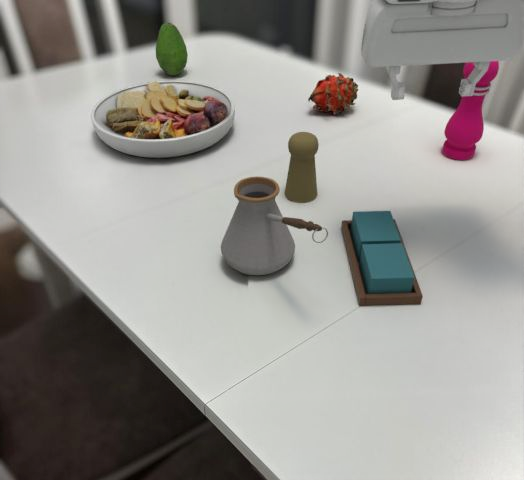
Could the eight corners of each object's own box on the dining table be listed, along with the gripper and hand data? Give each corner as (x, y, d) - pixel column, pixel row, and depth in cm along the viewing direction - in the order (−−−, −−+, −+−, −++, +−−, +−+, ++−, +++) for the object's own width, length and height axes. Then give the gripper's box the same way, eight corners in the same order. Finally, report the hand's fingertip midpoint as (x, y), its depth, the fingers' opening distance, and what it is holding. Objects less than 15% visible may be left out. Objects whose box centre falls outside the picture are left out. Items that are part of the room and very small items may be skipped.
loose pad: (386, 231, 87) (390, 210, 84) (396, 261, 82) (401, 240, 79) (350, 232, 87) (353, 211, 84) (357, 262, 82) (361, 241, 79)
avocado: (170, 82, 133) (163, 29, 125) (153, 74, 137) (145, 22, 129) (195, 74, 137) (190, 22, 128) (177, 66, 141) (171, 15, 132)
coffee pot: (209, 254, 85) (200, 166, 74) (270, 232, 89) (270, 146, 78) (280, 335, 72) (282, 244, 61) (347, 305, 76) (360, 215, 65)
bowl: (69, 153, 108) (58, 115, 102) (135, 96, 128) (129, 61, 122) (205, 174, 102) (202, 134, 96) (253, 111, 121) (252, 74, 116)
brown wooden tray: (392, 230, 89) (394, 218, 87) (419, 308, 76) (422, 296, 74) (340, 232, 89) (341, 220, 87) (358, 310, 75) (360, 298, 74)
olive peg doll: (278, 190, 98) (279, 132, 90) (306, 182, 100) (309, 124, 92) (294, 206, 94) (297, 146, 86) (323, 197, 96) (328, 138, 88)
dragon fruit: (360, 116, 123) (311, 129, 122) (348, 83, 123) (300, 96, 123) (368, 94, 114) (315, 109, 114) (356, 59, 115) (303, 73, 114)
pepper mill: (437, 158, 105) (464, 48, 91) (441, 142, 110) (468, 35, 95) (475, 164, 104) (509, 52, 89) (477, 147, 108) (510, 39, 94)
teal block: (397, 264, 81) (402, 243, 78) (409, 299, 76) (414, 277, 73) (358, 265, 81) (362, 244, 78) (367, 300, 76) (371, 278, 73)
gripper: (531, -35, 65) (498, 83, 75) (365, -26, 65) (354, 91, 75) (552, -22, 61) (514, 102, 71) (374, -13, 60) (362, 109, 71)
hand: (431, 96), depth 73 cm, fingers open, 8 cm apart
